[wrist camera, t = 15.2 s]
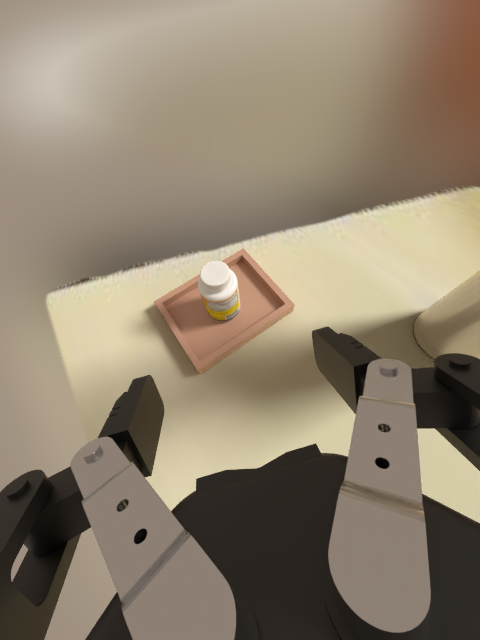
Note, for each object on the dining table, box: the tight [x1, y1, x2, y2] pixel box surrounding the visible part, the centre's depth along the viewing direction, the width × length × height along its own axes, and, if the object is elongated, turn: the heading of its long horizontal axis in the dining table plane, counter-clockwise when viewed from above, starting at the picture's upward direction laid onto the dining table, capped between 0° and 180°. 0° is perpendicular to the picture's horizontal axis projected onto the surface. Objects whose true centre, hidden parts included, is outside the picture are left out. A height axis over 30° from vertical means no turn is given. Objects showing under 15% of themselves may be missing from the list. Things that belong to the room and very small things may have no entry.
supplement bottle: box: [198, 261, 240, 322], centre depth 38 cm, size 6×6×10 cm
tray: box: [154, 249, 294, 374], centre depth 42 cm, size 18×14×2 cm
